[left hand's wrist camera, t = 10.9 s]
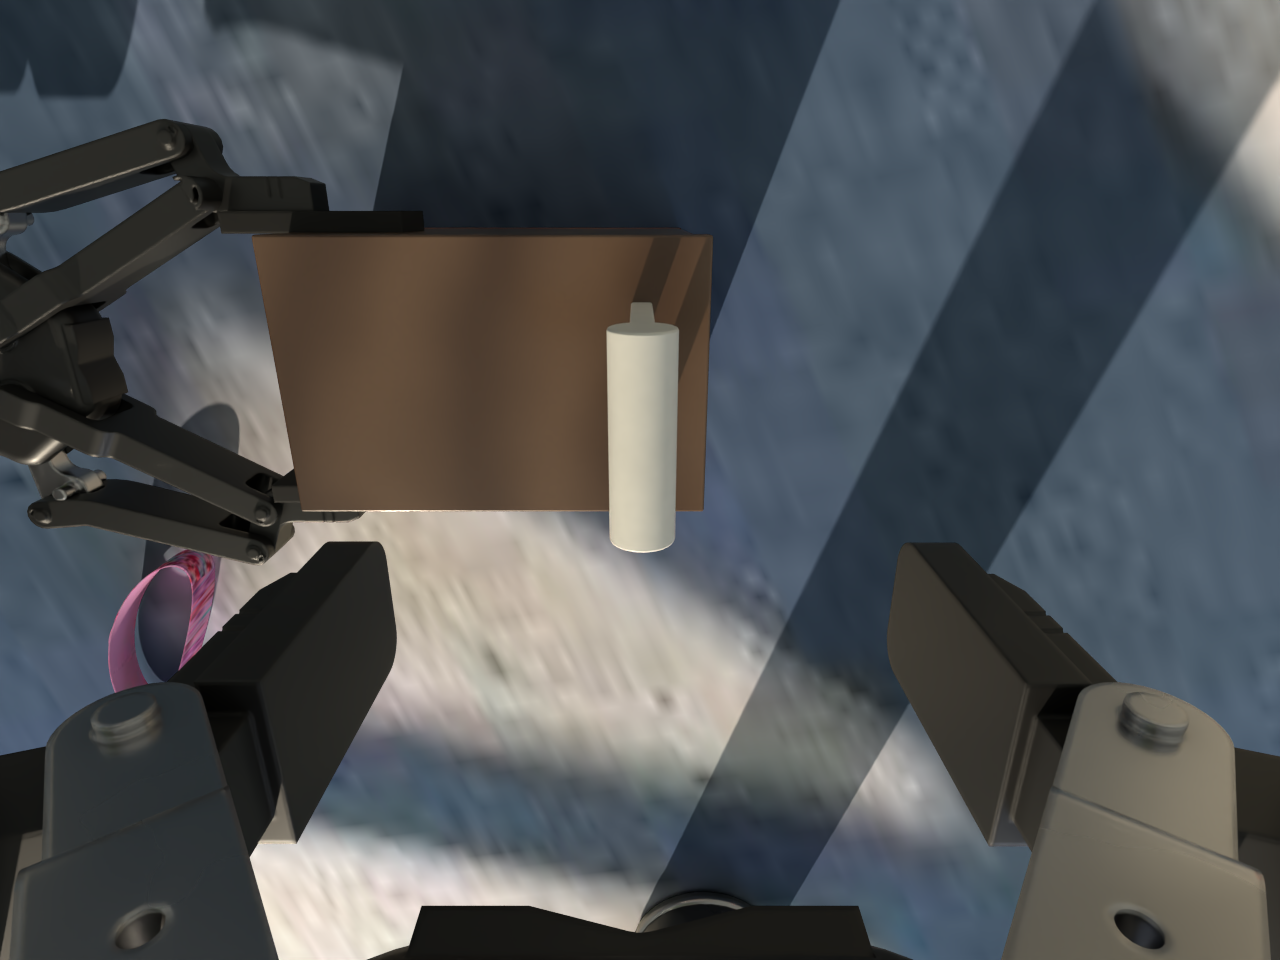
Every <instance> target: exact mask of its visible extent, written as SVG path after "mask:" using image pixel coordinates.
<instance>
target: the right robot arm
mask: <svg viewBox="0 0 1280 960" xmlns="http://www.w3.org/2000/svg"><path fill="white" fill-rule="evenodd" d="M222 152H223V145H222V141H221V139H220V137H219V135H218V134H217V133H216V132H215V131H213V130H212V129H210V128H207V127H203V126H198V125H193V124H188V123H183V122H178V121H173V120H167V119H160V120H156V121H153V122H150V123H147V124H143V125H140V126H137V127H134V128H131V129H128V130H125V131H122V132H119V133H116V134H113V135H110V136H107V137H104V138H101V139H98V140H95V141H92V142H89V143H86V144H83V145H80V146H76V147H73V148H70V149H67V150H64V151H61V152H58V153H55V154H52V155H49V156H46V157H43V158H40V159H37V160H34V161H31V162H28V163H25V164H22V165H19V166H16V167H13V168H9V169H6V170H3V171H0V455H1V456H4V457H7V458H9V459H11V460H13V461H15V462H18V463H21V464H26V465H28V466H29V469H30V471H31V474H32V476H33V479H34V481H35V483H36V486H37V488H38V491H39V493H40V496H41V498H42V499H40V500H38V501H36V502H34V503H32V504H31V505H30V506H29V507H28V510H27V513H28V517H29V518H30V520H31V521H32V522H33V523H34V524H35V525H36V526H39V527H41V528H47V529H48V528H62V527H76V526H90V527H95V528H99V529H103V530H107V531H112V532H116V533H120V534H124V535H129V536H133V537H137V538H141V539H146V540H150V541H154V542H158V543H163V544H167V545H171V546H175V547H180V548H184V549H188V550H193V551H197V552H201V553H205V554H210V555H214V556H218V557H222V558H227V559H231V560H235V561H239V562H244V563H248V564H252V565H261V564H264V563H265V562H266V561H267V560H268V559H269V558H271V557H272V556H273V555H274V554H275V553H276V552H277V551H278V550H279V549H280V548H282V547H283V546H284V545H285V544H286V543H287V542H288V541H289V540H290V539H291V538H292V537H293V536H294V533H295V530H294V526H293V522H350V521H353V520H356V519H358V518H360V517H361V516H362V515H363V514H364V513H365V512H366V511H302V509H301V503H300V498H299V492H298V487H297V481H296V476H295V471H294V469H293V470H291V471H290V472H289V473H287V474H286V475H285V476H282V475H280V474H278V473H276V472H273V471H271V470H269V469H267V468H265V467H263V466H261V465H259V464H257V463H255V462H252V461H250V460H248V459H246V458H244V457H242V456H240V455H238V454H236V453H234V452H231V451H229V450H227V449H225V448H223V447H221V446H219V445H217V444H215V443H213V442H210V441H208V440H206V439H204V438H202V437H200V436H198V435H196V434H194V433H191V432H189V431H187V430H185V429H183V428H181V427H179V426H177V425H175V424H173V423H170V422H168V421H166V420H164V419H162V418H160V417H158V416H157V415H156V410H155V409H154V408H152V407H151V406H149V405H147V404H144V403H142V402H140V401H138V400H136V399H134V398H132V397H130V396H128V395H126V394H125V393H128V389H127V386H126V382H125V378H124V374H123V372H122V370H121V369H120V367H119V365H118V363H117V361H116V359H115V357H114V336H113V332H112V328H111V324H110V320H109V318H102V317H101V315H100V314H99V311H101V310H102V309H104V308H105V307H107V306H108V305H110V304H111V303H113V302H114V301H116V300H117V299H118V298H120V297H121V296H123V295H124V294H126V292H127V291H126V289H127V288H129V287H130V286H132V285H133V284H134V283H136V282H137V281H139V280H140V279H142V278H143V277H145V276H146V275H148V274H149V273H151V272H152V271H154V270H155V269H157V268H158V267H160V266H161V265H163V264H164V263H166V262H167V261H169V260H170V259H172V258H173V257H175V256H176V255H178V254H179V253H181V252H182V251H184V250H185V249H187V248H188V247H190V246H191V245H193V244H194V243H196V242H197V241H199V240H200V239H202V238H203V237H205V236H206V235H208V234H209V233H211V232H212V231H214V230H215V229H217V228H218V227H220V228H221V233H405V232H417V231H424V222H423V212H422V211H329V206H328V199H327V192H326V185H325V184H324V183H322V182H319V181H317V180H314V179H312V178H304V177H294V176H279V177H277V176H268V177H266V176H239V175H237V174H236V173H234V172H233V171H232V170H231V169H230V167H229V166H228V164H227V163H226V161H225V159H224V157H223V155H222ZM173 174H177V176H174V177H173V179H174V180H178V181H181V182H179V183H178V184H176V185H175V186H173V187H172V188H171V189H169V190H168V191H166V192H165V193H163V194H162V195H160V196H159V197H158V198H156V199H155V200H153V201H152V202H150V203H149V204H147V205H146V206H145V207H143V208H142V209H140V210H139V211H137V212H136V213H134V214H133V215H132V216H130V217H129V218H127V219H126V220H124V221H123V222H121V223H120V224H119V225H117V226H116V227H114V228H113V229H111V230H110V231H108V232H107V233H106V234H104V235H103V236H101V237H100V238H98V239H97V240H95V241H94V242H93V243H91V244H90V245H88V246H87V247H85V248H84V249H83V250H81V251H80V252H78V253H77V254H75V255H74V256H72V257H71V258H70V259H68V260H67V261H65V262H64V263H62V264H61V265H59V266H57V267H55V268H53V269H49V270H46V271H44V272H41V271H40V270H38V269H36V268H35V267H33V266H32V265H30V264H28V263H27V262H25V261H24V260H22V259H20V258H19V257H17V256H15V255H14V254H12V253H10V252H7V251H6V242H7V240H8V239H9V237H11V236H12V235H17V234H21V233H23V232H24V231H25V230H26V228H27V226H30V225H32V224H33V223H34V217H33V215H32V213H46V212H55V211H59V210H63V209H67V208H70V207H73V206H76V205H79V204H82V203H85V202H89V201H92V200H95V199H98V198H101V197H104V196H107V195H110V194H114V193H117V192H120V191H123V190H126V189H129V188H132V187H136V186H139V185H142V184H145V183H148V182H151V181H154V180H157V179H161V178H164V177H167V176H170V175H173ZM73 449H76V450H78V451H80V452H82V453H85V454H87V455H90V456H94V457H109V458H113V459H115V460H118V461H120V462H122V463H124V464H126V465H128V466H131V467H133V468H135V469H137V470H139V471H142V472H144V473H146V474H148V475H150V476H152V477H155V478H157V479H159V480H161V481H163V482H165V483H168V484H170V485H172V486H174V487H176V488H178V489H181V490H183V491H185V492H187V493H189V494H191V495H189V494H184V493H180V492H176V491H172V490H168V489H164V488H160V487H155V486H151V485H147V484H143V483H139V482H134V481H129V480H120V479H106V474H105V473H104V472H103V471H102V470H94V471H92V470H90V469H85V468H80V467H78V466H76V465H74V464H73V463H72V462H71V461H70V460H69V458H68V457H67V453H69V452H70V451H72V450H73ZM193 495H194V496H193Z"/></svg>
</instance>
